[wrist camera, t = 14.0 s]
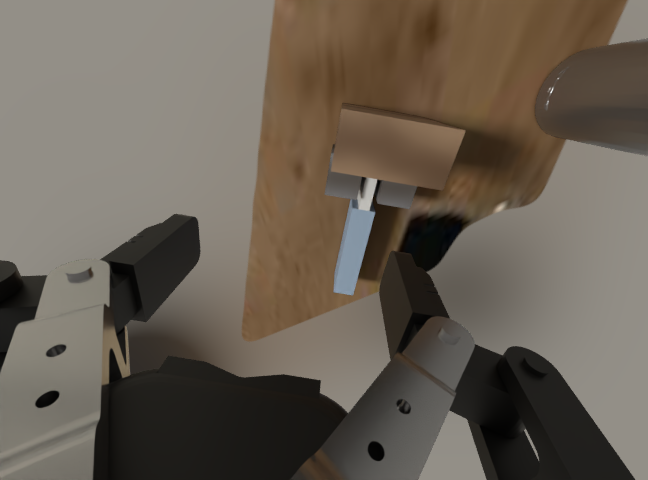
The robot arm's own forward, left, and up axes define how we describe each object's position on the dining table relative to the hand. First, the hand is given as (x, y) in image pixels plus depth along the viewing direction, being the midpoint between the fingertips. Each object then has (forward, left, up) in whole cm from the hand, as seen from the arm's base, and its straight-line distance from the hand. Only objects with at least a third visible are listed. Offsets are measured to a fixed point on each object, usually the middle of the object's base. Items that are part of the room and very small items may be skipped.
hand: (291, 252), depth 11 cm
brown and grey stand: (-6, 0, -28) cm, 29 cm away
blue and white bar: (-6, +11, -28) cm, 31 cm away
